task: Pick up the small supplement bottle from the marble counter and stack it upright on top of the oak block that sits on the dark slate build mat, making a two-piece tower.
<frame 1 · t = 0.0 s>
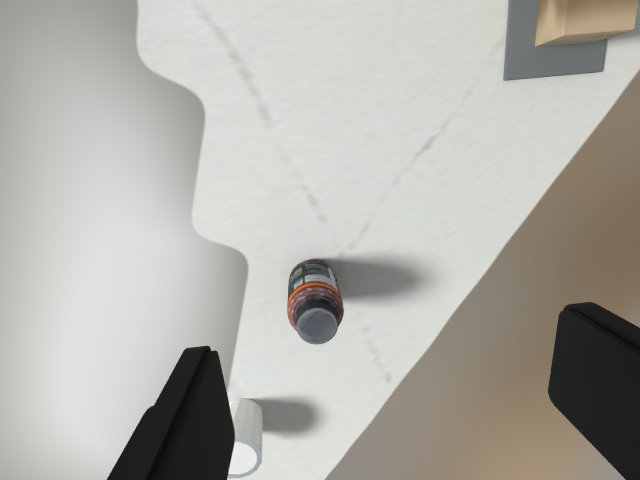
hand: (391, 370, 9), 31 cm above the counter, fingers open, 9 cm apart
supplement bottle 2: (312, 279, 42), on the counter
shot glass: (243, 413, 48), on the counter
oak block: (570, 6, 34), resting on build mat
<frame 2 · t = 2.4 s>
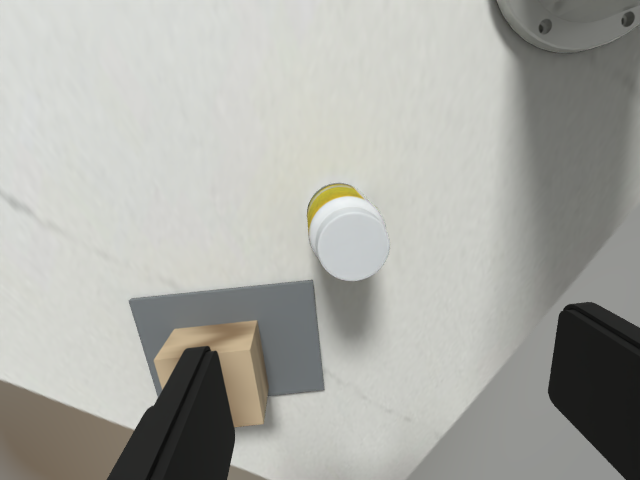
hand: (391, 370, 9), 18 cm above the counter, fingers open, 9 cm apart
supplement bottle: (337, 211, 26), on the counter
build mat: (233, 345, 29), on the counter
oak block: (223, 359, 29), resting on build mat
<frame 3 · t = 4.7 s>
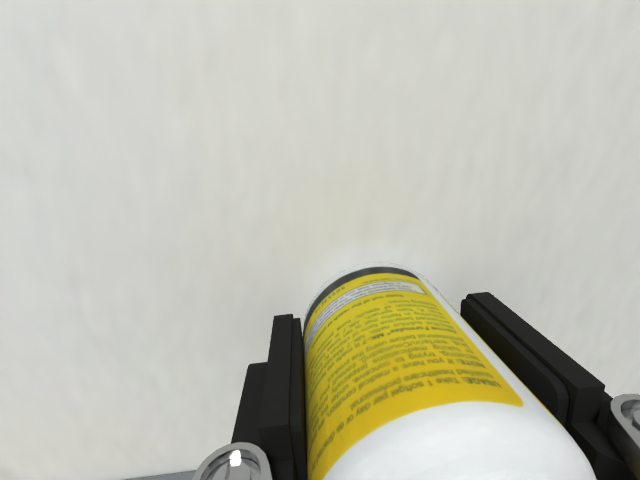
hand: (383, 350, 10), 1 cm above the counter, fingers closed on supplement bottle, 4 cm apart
supplement bottle: (371, 320, 11), on the counter, touching gripper
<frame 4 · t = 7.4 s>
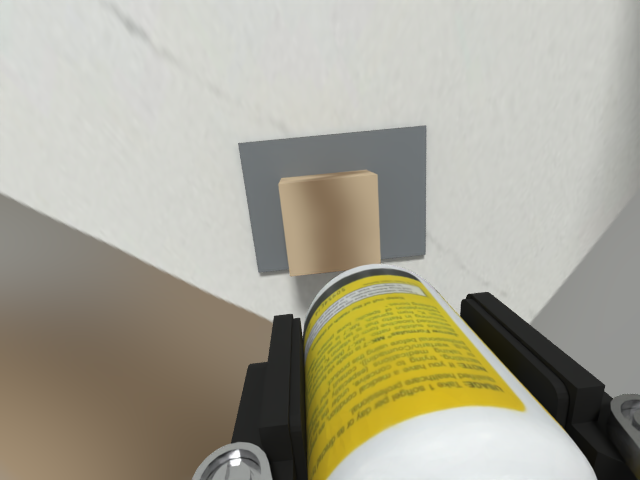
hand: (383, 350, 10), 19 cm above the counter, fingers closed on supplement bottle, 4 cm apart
supplement bottle: (372, 322, 11), point 18 cm above the counter, touching gripper
build mat: (337, 201, 28), on the counter
oak block: (327, 215, 28), resting on build mat
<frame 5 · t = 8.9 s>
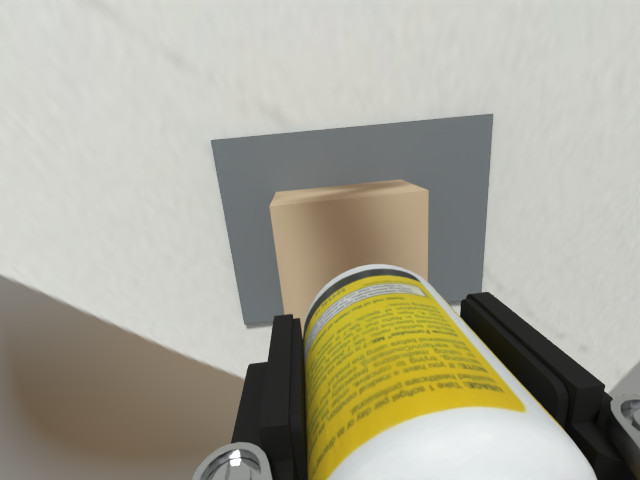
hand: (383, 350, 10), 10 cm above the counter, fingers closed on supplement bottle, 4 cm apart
supplement bottle: (372, 322, 11), point 9 cm above the counter, touching gripper
build mat: (358, 225, 19), on the counter
oak block: (343, 245, 19), resting on build mat
when the fingers open (7 cm above the counter, at t = 10.3 s): supplement bottle drops 1 cm, resting on oak block.
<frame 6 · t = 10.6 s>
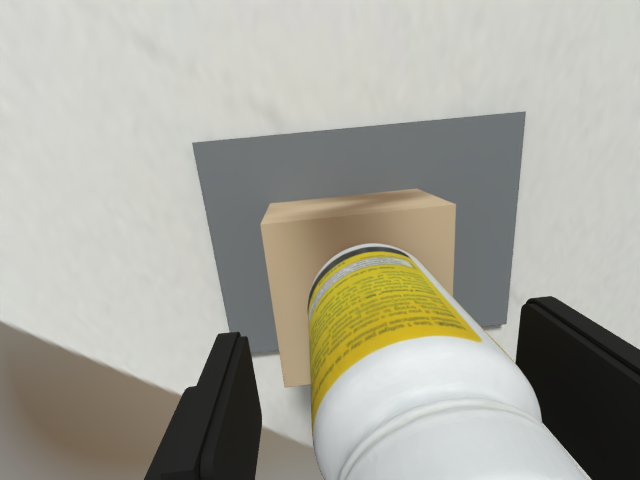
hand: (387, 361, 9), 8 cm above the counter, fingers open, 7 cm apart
supplement bottle: (368, 297, 13), point 4 cm above the counter, touching oak block
build mat: (365, 241, 17), on the counter
oak block: (348, 264, 16), resting on build mat, touching supplement bottle
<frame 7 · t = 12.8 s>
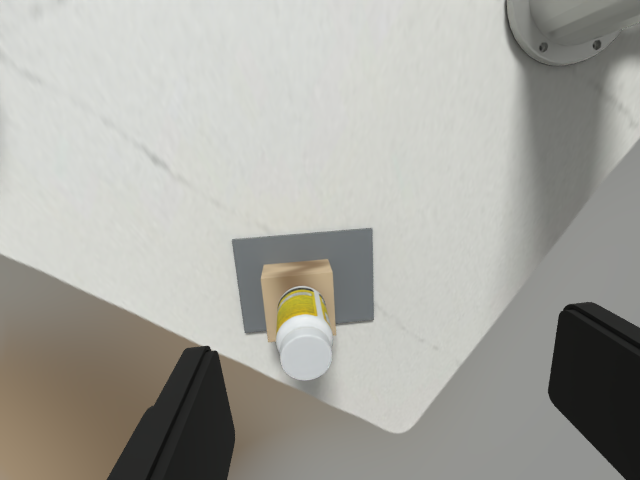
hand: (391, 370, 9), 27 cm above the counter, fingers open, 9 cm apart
supplement bottle: (301, 305, 33), point 4 cm above the counter, touching oak block
build mat: (306, 280, 37), on the counter
oak block: (298, 291, 36), resting on build mat, touching supplement bottle
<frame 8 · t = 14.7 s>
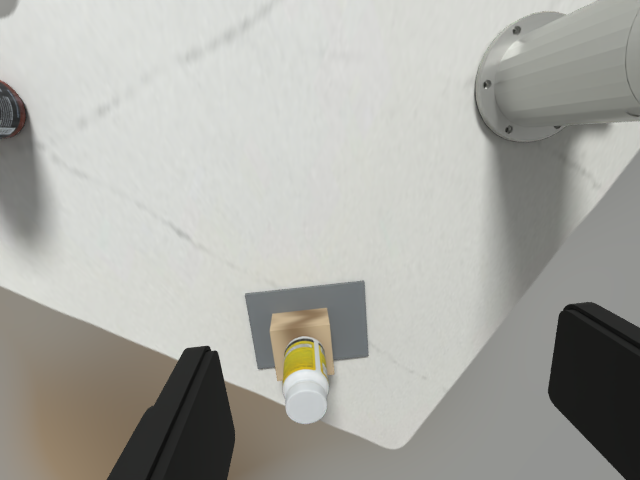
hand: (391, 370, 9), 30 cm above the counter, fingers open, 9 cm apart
supplement bottle: (304, 351, 39), point 4 cm above the counter, touching oak block
build mat: (309, 325, 43), on the counter
oak block: (302, 334, 43), resting on build mat, touching supplement bottle
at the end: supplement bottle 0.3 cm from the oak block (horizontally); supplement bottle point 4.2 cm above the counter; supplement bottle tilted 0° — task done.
